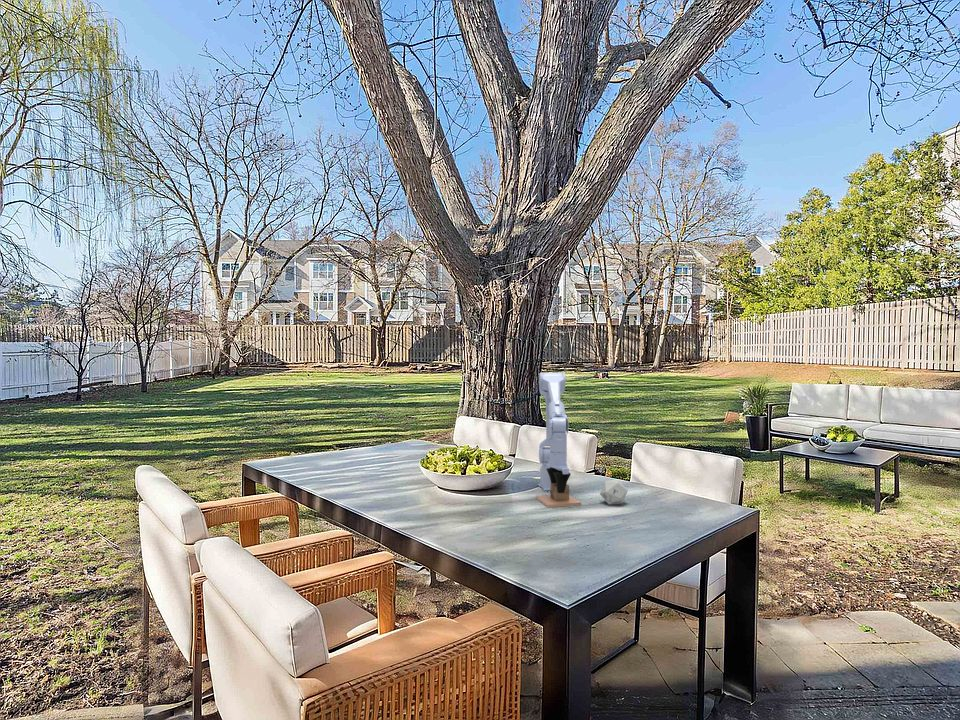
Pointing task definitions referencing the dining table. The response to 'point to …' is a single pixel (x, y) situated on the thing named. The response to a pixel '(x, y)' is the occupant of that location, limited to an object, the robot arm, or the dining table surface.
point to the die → (613, 492)
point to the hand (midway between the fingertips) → (558, 490)
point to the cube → (556, 495)
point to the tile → (551, 503)
